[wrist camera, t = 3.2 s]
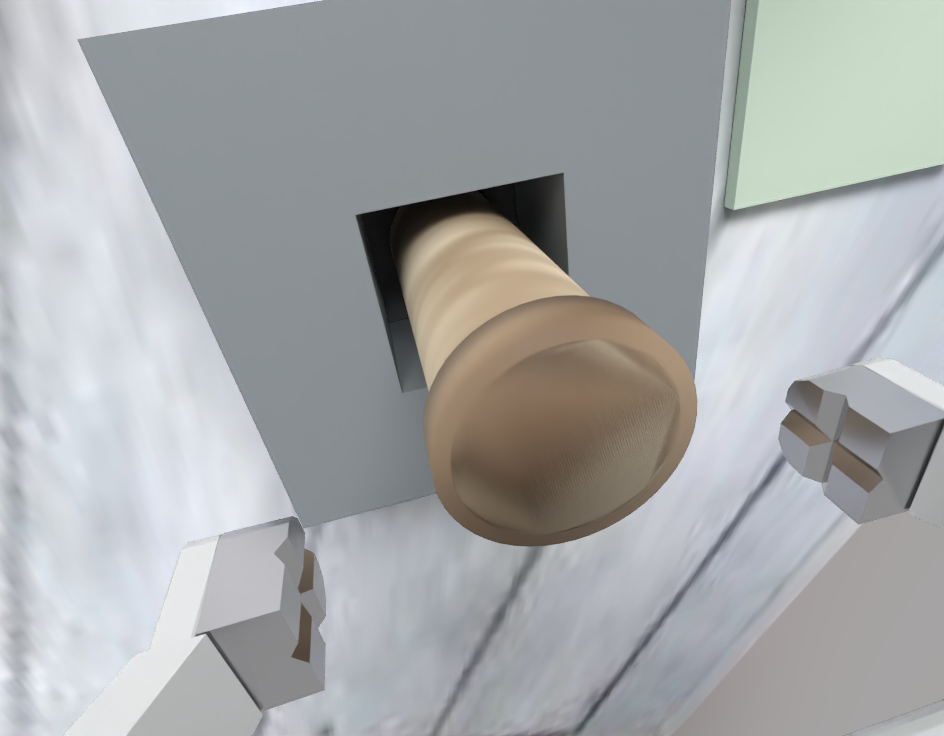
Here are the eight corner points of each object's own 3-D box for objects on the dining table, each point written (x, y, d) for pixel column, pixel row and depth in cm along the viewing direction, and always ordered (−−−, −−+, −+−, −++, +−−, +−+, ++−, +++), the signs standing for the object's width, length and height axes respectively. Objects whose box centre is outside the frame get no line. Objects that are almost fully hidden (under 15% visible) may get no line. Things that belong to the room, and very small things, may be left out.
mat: (1054, -181, 16) (1077, -188, 16) (947, 157, 22) (961, 160, 21) (762, -139, 15) (776, -146, 15) (724, 206, 20) (734, 210, 20)
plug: (500, 160, 18) (709, 290, 8) (514, 285, 20) (686, 508, 10) (366, 186, 17) (403, 362, 7) (397, 311, 20) (456, 573, 10)
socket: (631, -32, 16) (737, -66, 12) (626, 359, 23) (689, 426, 19) (154, 45, 14) (77, 39, 10) (311, 437, 22) (303, 528, 18)
